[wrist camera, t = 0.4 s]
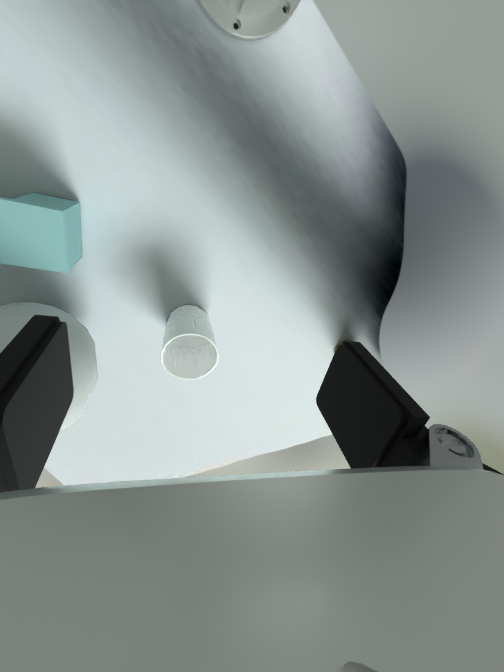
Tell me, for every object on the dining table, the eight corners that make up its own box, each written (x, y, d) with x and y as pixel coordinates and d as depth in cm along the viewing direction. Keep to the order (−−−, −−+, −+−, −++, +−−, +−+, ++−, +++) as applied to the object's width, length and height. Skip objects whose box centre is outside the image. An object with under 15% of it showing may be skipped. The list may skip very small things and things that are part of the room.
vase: (14, 378, 48) (-139, 590, 25) (-38, 283, 40) (-346, 475, 16) (122, 366, 51) (73, 546, 28) (95, 275, 42) (-7, 428, 19)
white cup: (172, 347, 51) (171, 385, 43) (156, 307, 47) (151, 342, 39) (217, 336, 52) (224, 371, 44) (205, 295, 47) (211, 327, 39)
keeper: (-56, 173, 33) (-102, 178, 28) (80, 202, 37) (62, 211, 32) (-41, 236, 37) (-80, 252, 31) (82, 256, 40) (66, 273, 35)
